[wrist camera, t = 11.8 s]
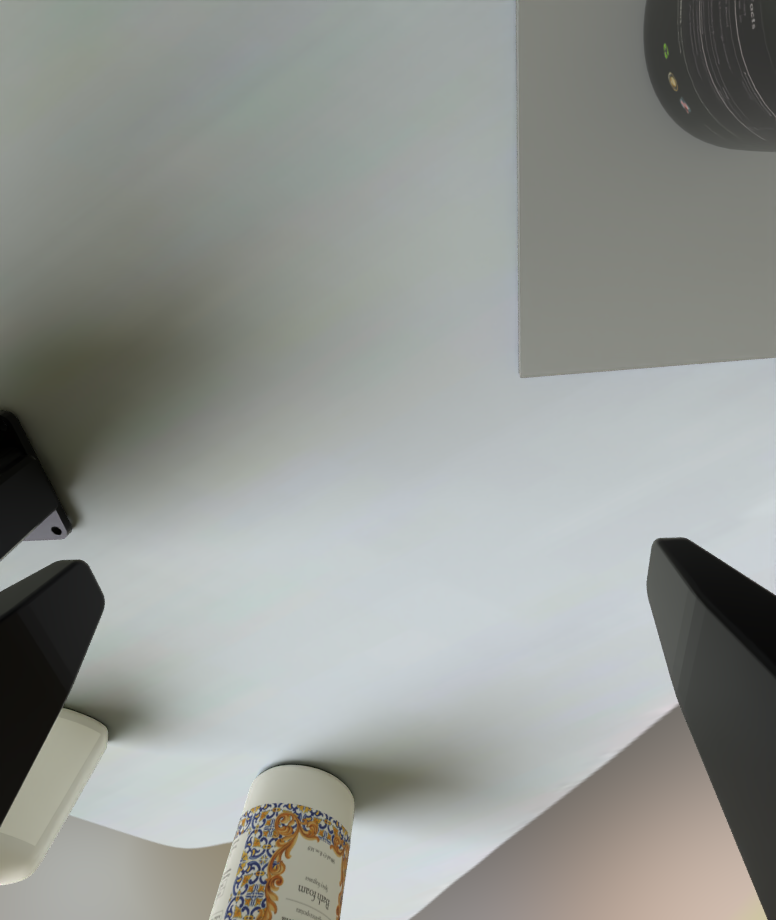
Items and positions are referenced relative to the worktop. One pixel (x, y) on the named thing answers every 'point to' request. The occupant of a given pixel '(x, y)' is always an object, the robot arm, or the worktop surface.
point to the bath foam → (289, 849)
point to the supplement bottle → (715, 68)
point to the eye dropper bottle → (49, 793)
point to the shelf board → (629, 209)
